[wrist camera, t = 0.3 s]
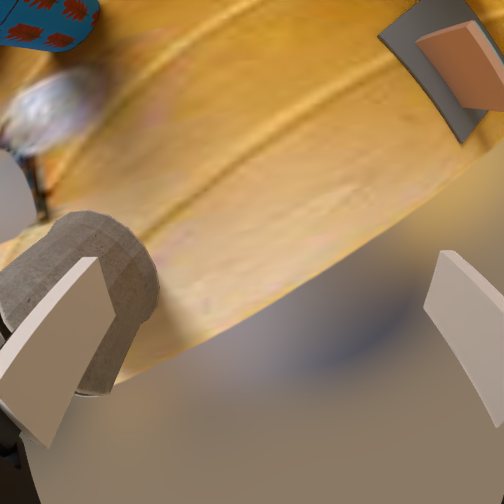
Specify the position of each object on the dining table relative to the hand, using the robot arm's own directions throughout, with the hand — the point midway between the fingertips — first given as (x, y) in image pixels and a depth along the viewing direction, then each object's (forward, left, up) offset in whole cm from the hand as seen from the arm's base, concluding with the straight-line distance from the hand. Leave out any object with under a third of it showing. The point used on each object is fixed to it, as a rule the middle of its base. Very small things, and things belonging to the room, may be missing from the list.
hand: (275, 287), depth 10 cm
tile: (-21, +23, -27) cm, 41 cm away
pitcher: (+25, -27, -28) cm, 46 cm away
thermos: (-20, -32, -28) cm, 47 cm away
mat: (-26, +26, -28) cm, 46 cm away
